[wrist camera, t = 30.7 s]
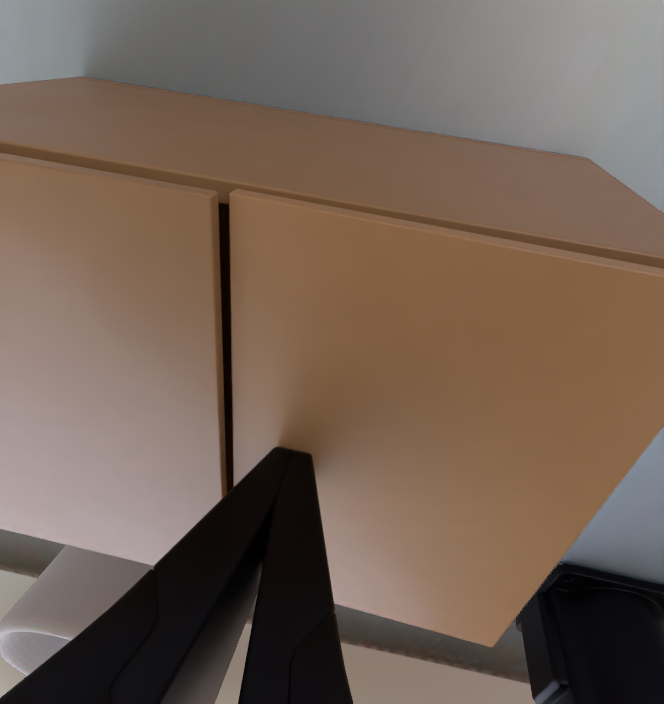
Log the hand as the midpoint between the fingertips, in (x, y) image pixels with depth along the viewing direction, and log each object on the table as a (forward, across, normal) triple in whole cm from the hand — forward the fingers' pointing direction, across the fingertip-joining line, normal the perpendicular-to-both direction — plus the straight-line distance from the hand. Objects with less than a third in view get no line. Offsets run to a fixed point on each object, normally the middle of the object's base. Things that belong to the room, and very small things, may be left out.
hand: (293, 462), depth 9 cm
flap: (0, -2, 0) cm, 2 cm away
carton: (+8, +1, 0) cm, 8 cm away
